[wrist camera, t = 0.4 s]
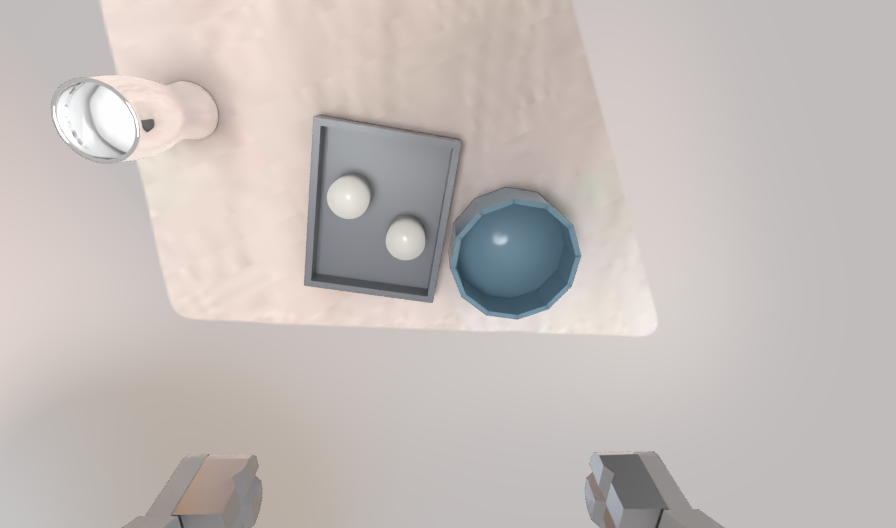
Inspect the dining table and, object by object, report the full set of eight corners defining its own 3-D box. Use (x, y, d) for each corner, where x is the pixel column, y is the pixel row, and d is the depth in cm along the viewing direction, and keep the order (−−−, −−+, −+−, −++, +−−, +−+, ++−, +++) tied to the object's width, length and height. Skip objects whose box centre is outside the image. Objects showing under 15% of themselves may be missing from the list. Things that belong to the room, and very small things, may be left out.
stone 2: (390, 212, 53) (388, 220, 50) (428, 217, 53) (428, 226, 50) (386, 247, 55) (383, 257, 52) (422, 252, 55) (422, 262, 52)
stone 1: (334, 169, 51) (328, 175, 48) (374, 176, 51) (370, 182, 48) (331, 207, 52) (325, 215, 49) (370, 213, 53) (366, 221, 50)
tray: (319, 114, 49) (313, 116, 46) (459, 139, 51) (461, 142, 48) (310, 275, 57) (304, 285, 54) (432, 292, 58) (432, 303, 55)
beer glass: (154, 72, 47) (39, 67, 33) (221, 82, 47) (136, 81, 34) (160, 138, 49) (56, 160, 36) (224, 147, 50) (146, 172, 36)
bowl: (461, 179, 53) (465, 190, 48) (579, 199, 54) (594, 211, 49) (441, 289, 58) (442, 309, 53) (548, 304, 60) (559, 325, 55)
